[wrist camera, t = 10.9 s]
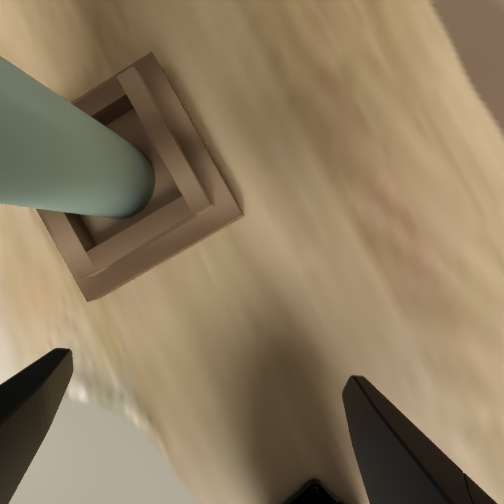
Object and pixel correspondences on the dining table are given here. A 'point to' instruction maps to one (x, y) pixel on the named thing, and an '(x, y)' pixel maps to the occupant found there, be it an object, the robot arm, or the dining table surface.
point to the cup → (65, 155)
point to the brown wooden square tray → (165, 192)
